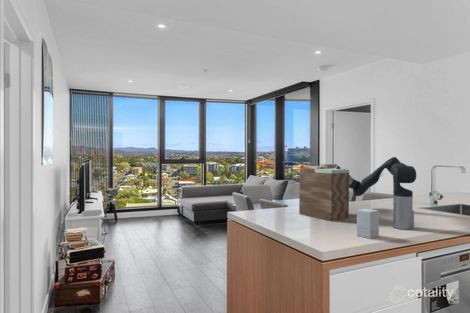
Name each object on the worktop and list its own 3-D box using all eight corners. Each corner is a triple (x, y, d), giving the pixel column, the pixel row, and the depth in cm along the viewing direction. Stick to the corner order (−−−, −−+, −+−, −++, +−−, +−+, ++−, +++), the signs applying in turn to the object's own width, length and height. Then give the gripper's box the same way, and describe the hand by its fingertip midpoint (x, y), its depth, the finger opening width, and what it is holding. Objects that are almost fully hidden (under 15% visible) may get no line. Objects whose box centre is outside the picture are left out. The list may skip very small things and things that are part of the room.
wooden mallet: (328, 167, 227) (328, 164, 227) (341, 168, 218) (341, 164, 218) (303, 168, 212) (303, 164, 212) (316, 168, 203) (316, 164, 203)
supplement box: (379, 237, 154) (379, 210, 153) (370, 239, 149) (370, 211, 149) (365, 233, 160) (365, 208, 160) (356, 235, 155) (356, 209, 155)
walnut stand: (316, 211, 219) (316, 167, 219) (348, 218, 198) (349, 169, 197) (299, 214, 210) (299, 168, 210) (331, 221, 189) (331, 170, 189)
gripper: (338, 172, 232) (325, 161, 225) (355, 173, 221) (342, 162, 213) (334, 182, 230) (321, 171, 223) (351, 183, 218) (338, 172, 211)
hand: (331, 166), depth 218 cm, fingers open, 8 cm apart
